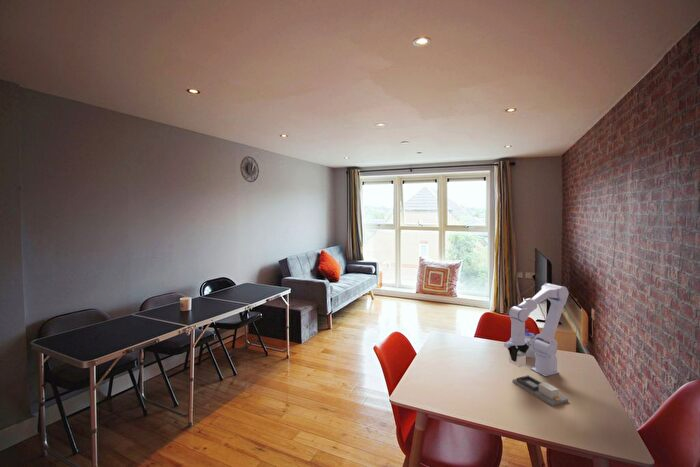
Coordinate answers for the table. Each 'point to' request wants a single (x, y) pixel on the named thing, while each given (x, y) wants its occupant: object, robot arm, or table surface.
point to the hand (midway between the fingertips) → (517, 359)
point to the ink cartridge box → (530, 351)
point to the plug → (519, 359)
